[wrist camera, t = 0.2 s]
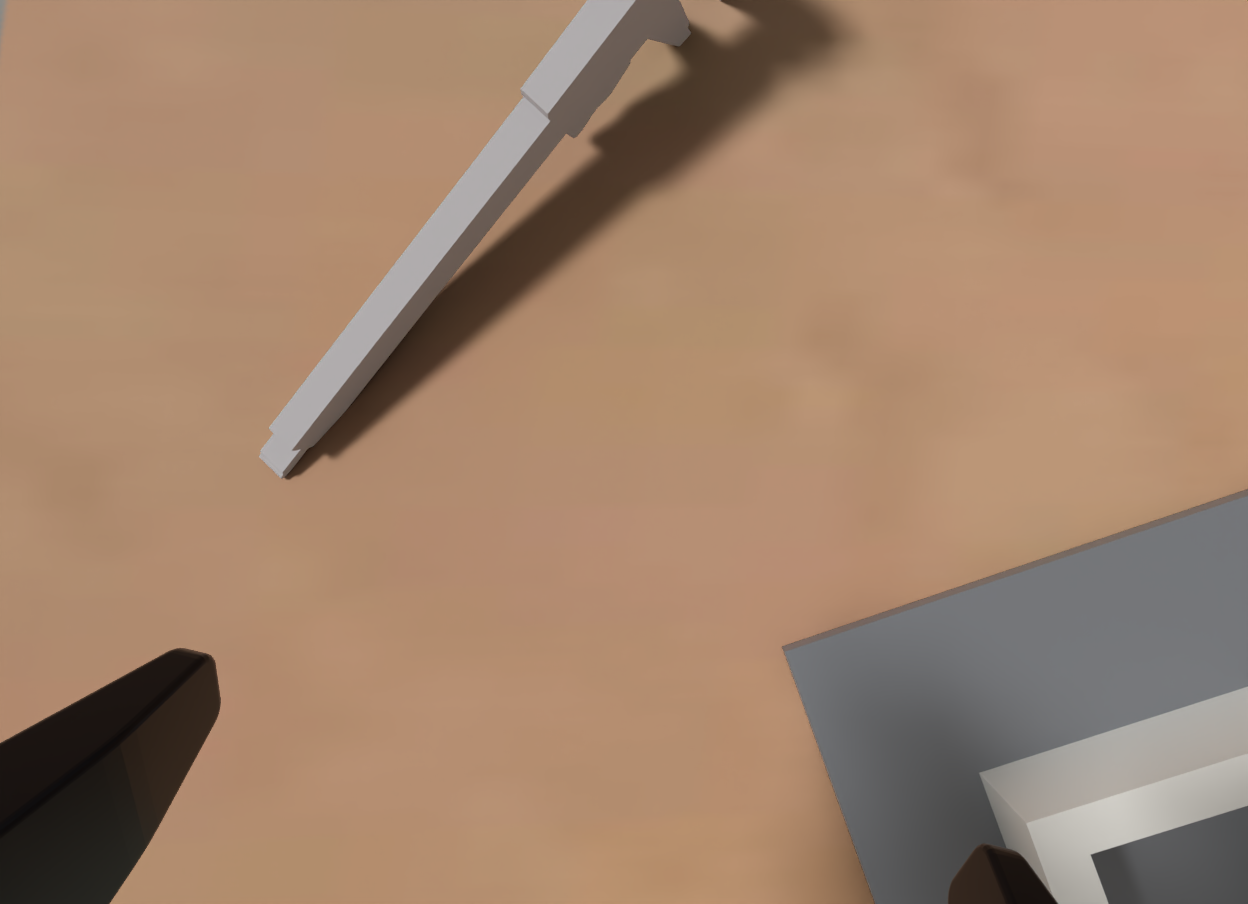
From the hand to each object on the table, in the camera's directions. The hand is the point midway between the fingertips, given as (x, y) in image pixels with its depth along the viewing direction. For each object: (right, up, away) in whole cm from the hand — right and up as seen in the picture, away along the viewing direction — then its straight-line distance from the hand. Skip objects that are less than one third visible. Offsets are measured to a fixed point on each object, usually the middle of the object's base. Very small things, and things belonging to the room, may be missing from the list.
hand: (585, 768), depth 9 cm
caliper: (-4, +11, +15) cm, 19 cm away
